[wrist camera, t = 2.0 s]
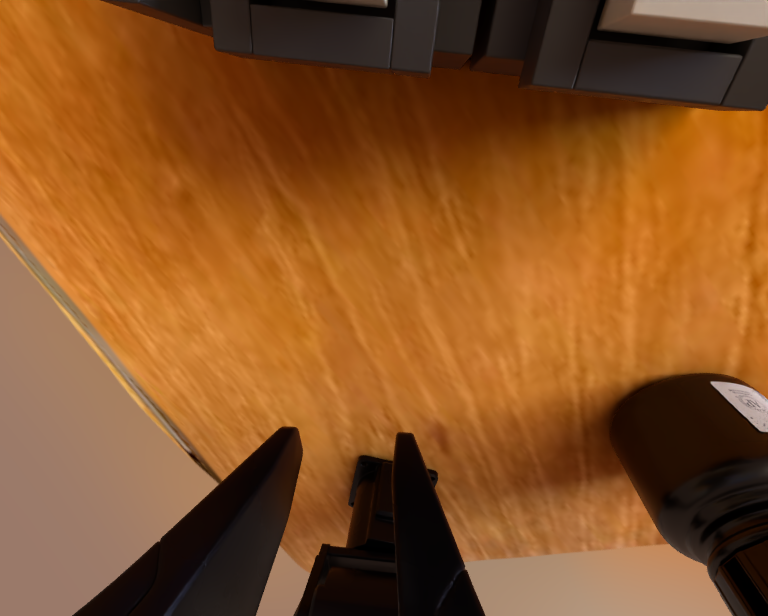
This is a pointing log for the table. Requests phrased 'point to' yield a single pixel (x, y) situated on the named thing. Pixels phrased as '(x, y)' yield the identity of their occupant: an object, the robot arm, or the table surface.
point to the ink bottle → (704, 476)
